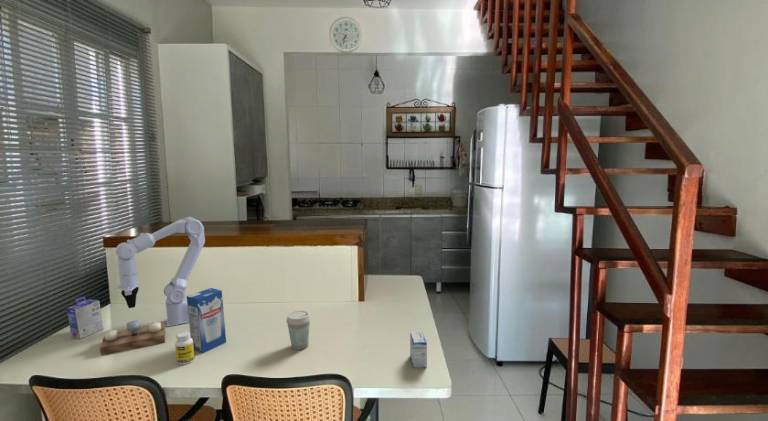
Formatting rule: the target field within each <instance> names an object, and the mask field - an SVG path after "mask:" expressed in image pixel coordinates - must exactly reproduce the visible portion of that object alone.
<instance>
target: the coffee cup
mask: <svg viewBox="0 0 768 421" xmlns="http://www.w3.org/2000/svg"><path fill="white" fill-rule="evenodd" d="M311 319H312V318H311V315H310V313H309V312H308V311H305V310H297V311H292V312H289V313H288V314H287V317H286V323H287V329H288V333H289V334H288V335H289V339H290V343H291V349H292V350H295V351H303V350H305V349H308V347H309V340H310V339H309V338H310V323H311Z"/></svg>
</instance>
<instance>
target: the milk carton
mask: <svg viewBox="0 0 768 421" xmlns="http://www.w3.org/2000/svg"><path fill="white" fill-rule="evenodd" d="M185 297H186V299H187V305H188V315H189V323H188V324H189V332H190V338H192V340H193V347H194V352H198V353H200V354H205V353H207V352H209V351H211V350H214V349H215V348H218V347H220V346H221V345H223V344H225V343H227V337H226V336H227V335H226V324H225V322H226V321H225V315H224V302H223V290H222V289H217V288H214V287H213V288H212V287H210V288H206V289H204V290H201V291H198V292H195V293H192V294H189V295H187V296H186V295H185Z"/></svg>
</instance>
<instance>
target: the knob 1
mask: <svg viewBox="0 0 768 421" xmlns="http://www.w3.org/2000/svg"><path fill="white" fill-rule="evenodd" d="M118 332H119V331H118V330H117V329H111V330H107V331H106V332H104V335H105V340H106V341H112V340H115V339H117V338H118Z"/></svg>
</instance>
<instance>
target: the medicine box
mask: <svg viewBox="0 0 768 421" xmlns="http://www.w3.org/2000/svg"><path fill="white" fill-rule="evenodd" d="M409 336H410V337H409V338H410V339H409V345H410V346H409V354H410V355H409V356H410V359H411V363H412V366H413V368H427V367H428V343H427V341H426V337H425V334H424V332H423V331H411V332H410V333H409Z"/></svg>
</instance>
